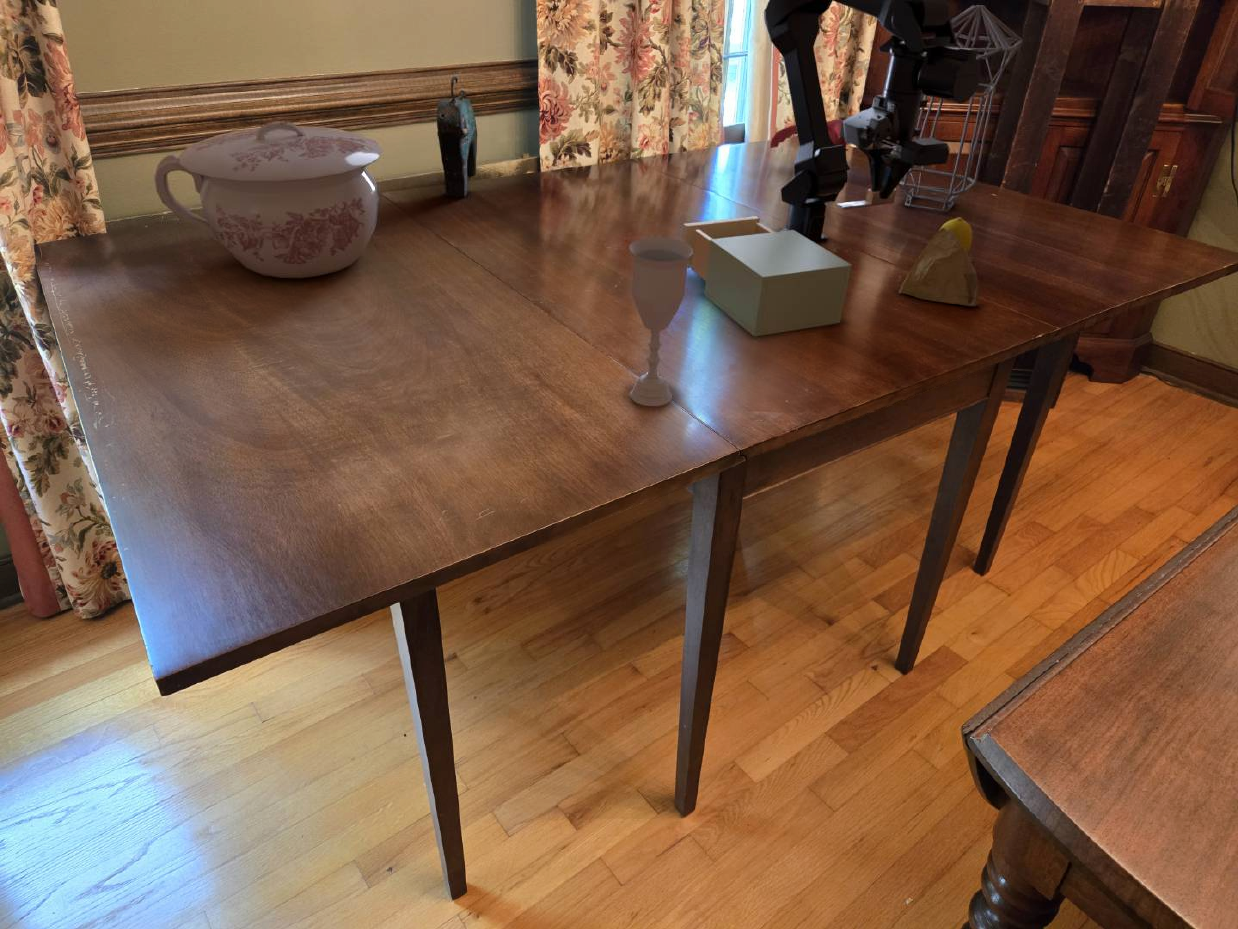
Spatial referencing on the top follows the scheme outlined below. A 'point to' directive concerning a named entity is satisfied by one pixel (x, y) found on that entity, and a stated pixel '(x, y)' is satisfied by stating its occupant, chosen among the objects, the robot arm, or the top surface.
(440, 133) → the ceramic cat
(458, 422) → the top surface
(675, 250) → the chalice
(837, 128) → the decorative bird sculpture
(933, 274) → the rock
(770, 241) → the cabinet
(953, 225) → the lemon
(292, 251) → the chamber pot
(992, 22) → the geometric lantern
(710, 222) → the drawer
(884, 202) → the metal z bracket
